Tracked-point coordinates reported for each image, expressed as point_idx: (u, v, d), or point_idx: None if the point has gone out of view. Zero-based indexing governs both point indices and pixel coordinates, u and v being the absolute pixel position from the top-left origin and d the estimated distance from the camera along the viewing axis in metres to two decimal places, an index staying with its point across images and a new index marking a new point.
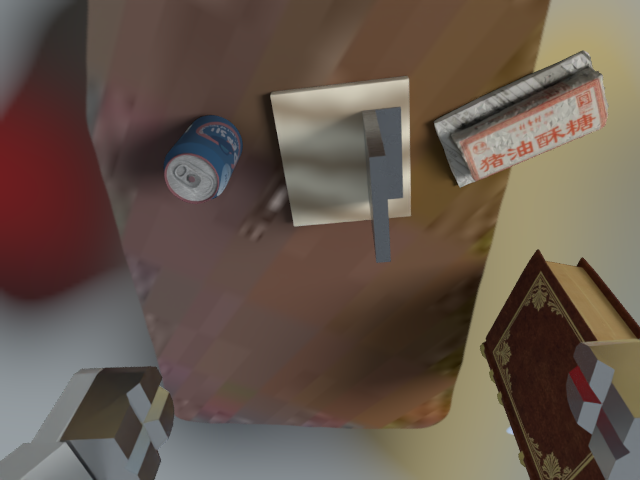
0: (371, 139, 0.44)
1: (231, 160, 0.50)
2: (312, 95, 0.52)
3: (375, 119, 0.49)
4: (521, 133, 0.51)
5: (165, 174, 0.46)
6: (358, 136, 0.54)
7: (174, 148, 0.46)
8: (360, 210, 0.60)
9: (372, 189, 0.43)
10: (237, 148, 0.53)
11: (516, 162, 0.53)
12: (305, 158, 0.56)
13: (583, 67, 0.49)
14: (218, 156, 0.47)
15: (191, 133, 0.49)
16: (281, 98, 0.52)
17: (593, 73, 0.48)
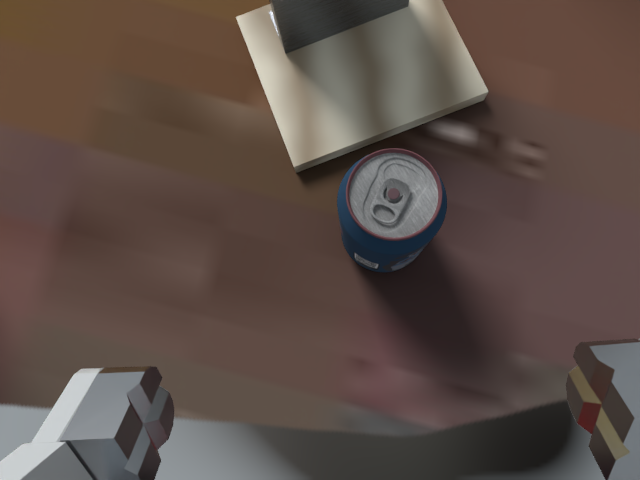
0: None
1: None
2: (281, 116, 0.39)
3: (273, 14, 0.37)
4: None
5: (397, 238, 0.26)
6: (319, 47, 0.40)
7: (354, 237, 0.28)
8: (428, 11, 0.40)
9: None
10: None
11: None
12: (369, 103, 0.39)
13: None
14: (350, 168, 0.29)
15: (343, 234, 0.31)
16: (294, 152, 0.39)
17: None
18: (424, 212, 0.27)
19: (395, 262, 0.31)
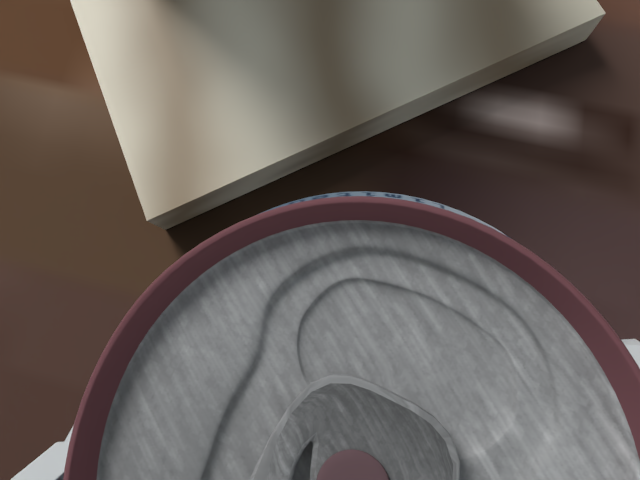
0: None
1: None
2: (121, 103, 0.17)
3: None
4: None
5: None
6: None
7: None
8: None
9: None
10: None
11: None
12: (321, 61, 0.17)
13: None
14: None
15: None
16: (148, 185, 0.16)
17: None
18: None
19: None
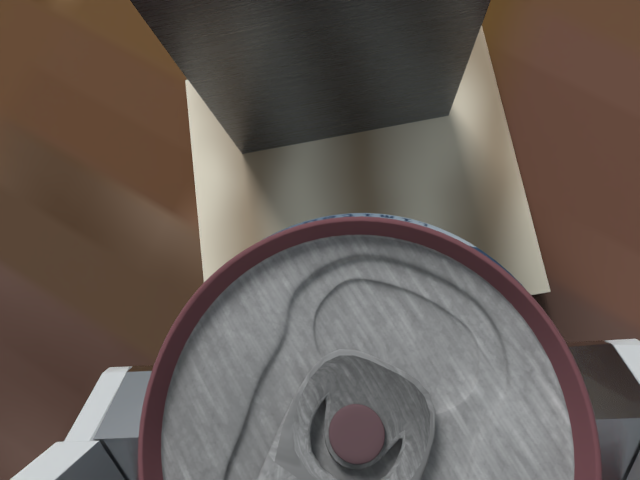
0: None
1: None
2: (211, 253, 0.25)
3: None
4: None
5: None
6: (295, 155, 0.26)
7: None
8: (479, 130, 0.25)
9: None
10: None
11: None
12: None
13: None
14: None
15: None
16: None
17: None
18: None
19: None
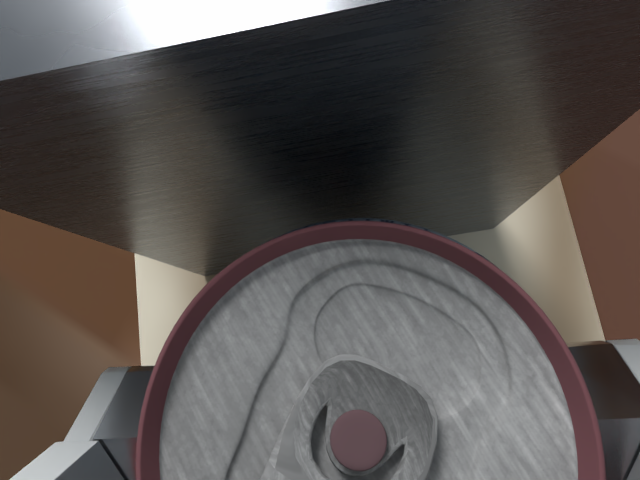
0: None
1: None
2: None
3: None
4: None
5: None
6: None
7: None
8: (537, 251, 0.17)
9: (32, 65, 0.05)
10: None
11: None
12: None
13: None
14: None
15: None
16: None
17: None
18: None
19: None
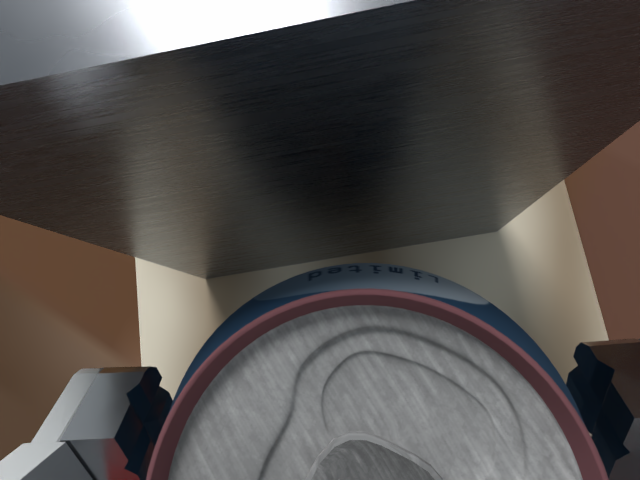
0: None
1: None
2: None
3: None
4: None
5: None
6: None
7: None
8: (542, 255, 0.17)
9: (28, 71, 0.05)
10: None
11: None
12: None
13: None
14: (203, 347, 0.07)
15: None
16: None
17: None
18: None
19: None
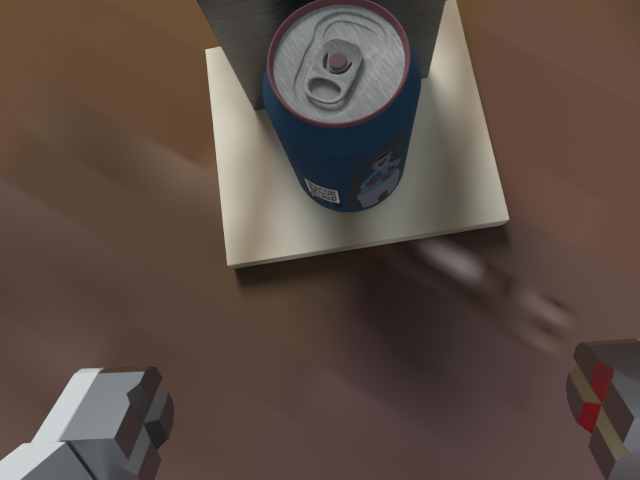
0: None
1: None
2: (228, 192, 0.30)
3: None
4: None
5: None
6: None
7: (287, 135, 0.19)
8: (453, 89, 0.30)
9: None
10: None
11: None
12: None
13: None
14: None
15: (283, 147, 0.22)
16: (232, 245, 0.29)
17: None
18: (385, 84, 0.18)
19: (358, 183, 0.22)
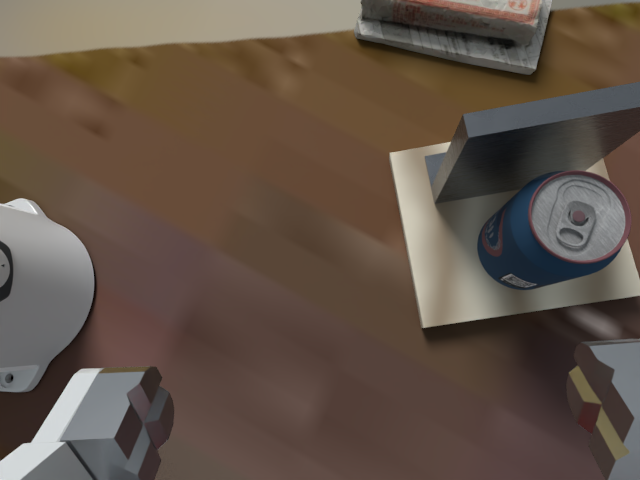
0: (452, 158, 0.30)
1: None
2: (419, 269, 0.39)
3: (437, 176, 0.36)
4: None
5: (589, 261, 0.26)
6: (471, 205, 0.39)
7: (535, 261, 0.28)
8: None
9: (525, 125, 0.26)
10: None
11: None
12: None
13: (366, 20, 0.45)
14: (521, 192, 0.29)
15: (506, 256, 0.31)
16: (426, 312, 0.38)
17: (365, 3, 0.43)
18: (612, 233, 0.26)
19: None
